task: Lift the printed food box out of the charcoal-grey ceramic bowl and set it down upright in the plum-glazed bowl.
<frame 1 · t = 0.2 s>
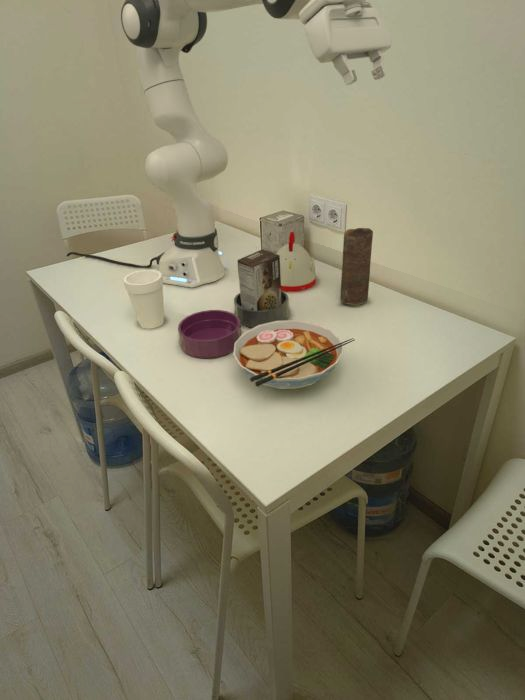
hand: (366, 80, 89), 54 cm above the table, tool tilted 30°, fingers open, 8 cm apart
foam cup: (152, 323, 126), on the table
candle: (353, 302, 130), on the table
grey bowl: (262, 315, 126), on the table
white chicken egg cooker: (292, 282, 143), on the table
printed food box: (262, 315, 126), resting on grey bowl
plum bowl: (211, 342, 116), on the table
ramen bowl: (288, 376, 103), on the table
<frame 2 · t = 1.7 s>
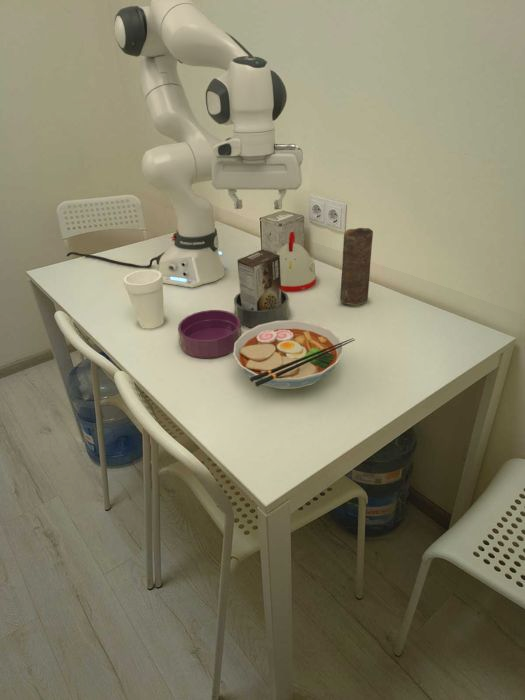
hand: (258, 208, 111), 28 cm above the table, tool pointing down, fingers open, 8 cm apart
nothing on the table moved.
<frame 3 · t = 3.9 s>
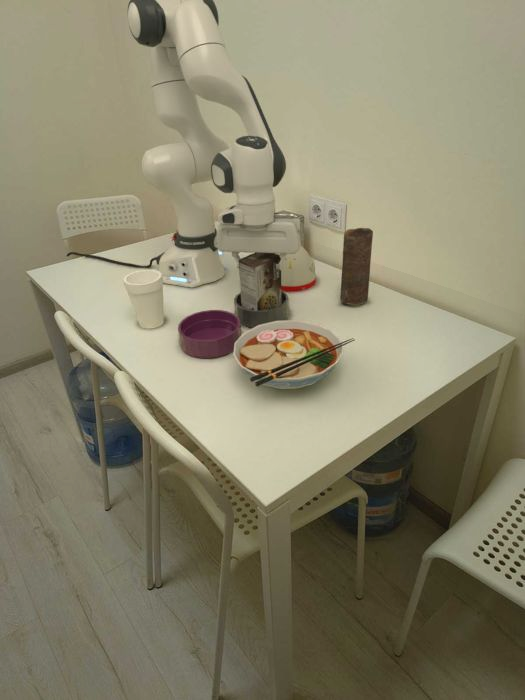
hand: (260, 268, 119), 13 cm above the table, tool pointing down, fingers closed on printed food box, 8 cm apart
printed food box: (262, 315, 126), resting on grey bowl, touching gripper
everything else where it was.
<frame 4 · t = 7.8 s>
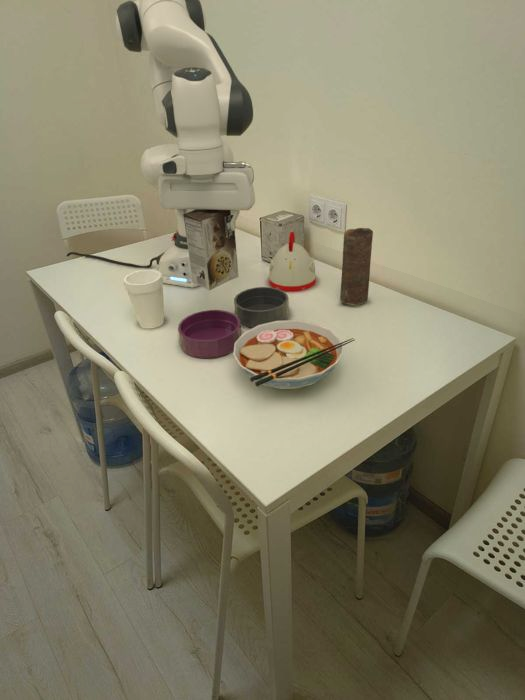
hand: (210, 229, 103), 27 cm above the table, tool pointing down, fingers closed on printed food box, 8 cm apart
printed food box: (215, 280, 110), point 15 cm above the table, touching gripper
everything else where it was.
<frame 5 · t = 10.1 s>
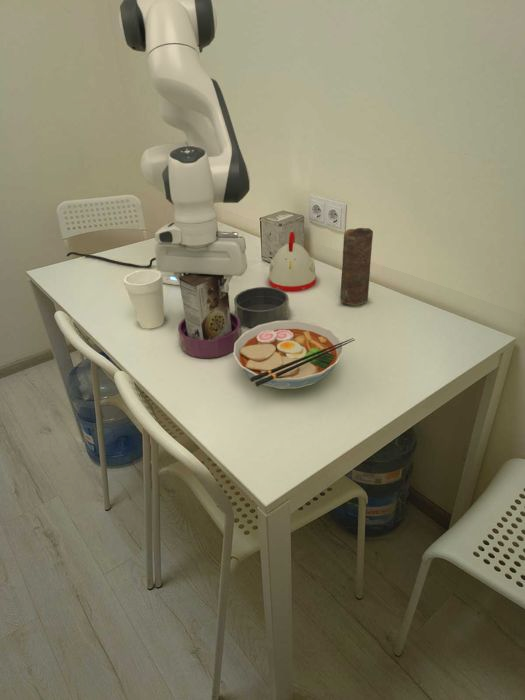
hand: (204, 290, 109), 14 cm above the table, tool pointing down, fingers closed on printed food box, 8 cm apart
printed food box: (209, 335, 115), point 2 cm above the table, touching gripper
everything else where it was.
when the fingers open (13 cm above the table, at t = 11.9 s): printed food box stays where it is, resting on plum bowl.
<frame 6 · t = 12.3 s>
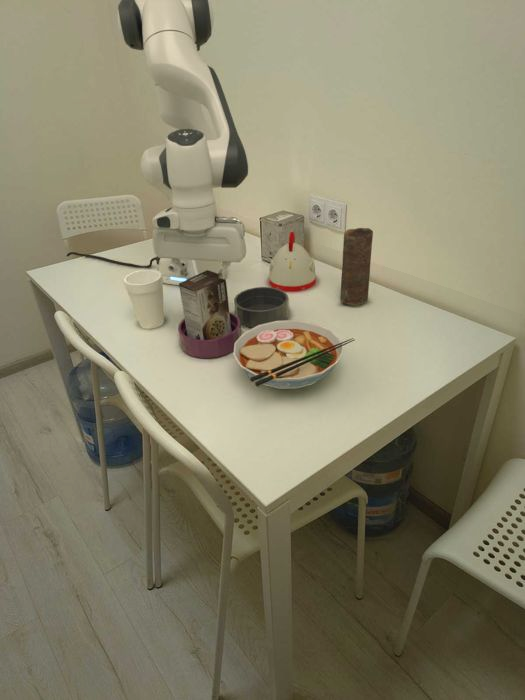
hand: (203, 277, 107), 17 cm above the table, tool pointing down, fingers open, 8 cm apart
printed food box: (210, 341, 116), resting on plum bowl
everything else where it was.
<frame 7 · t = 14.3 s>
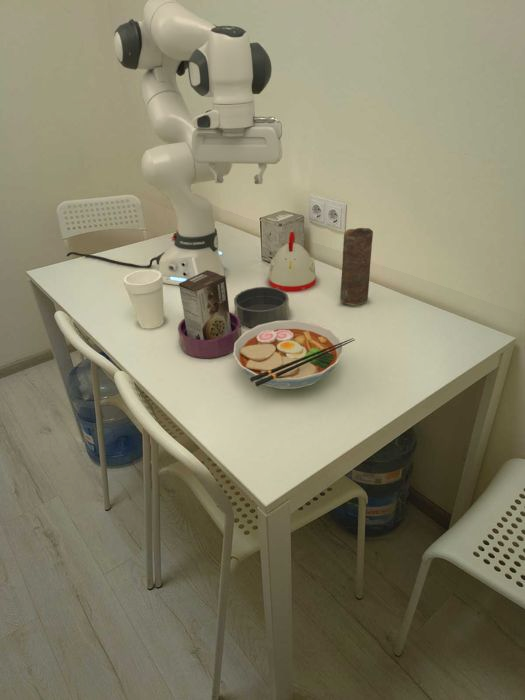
hand: (238, 183, 110), 34 cm above the table, tool pointing down, fingers open, 8 cm apart
nothing on the table moved.
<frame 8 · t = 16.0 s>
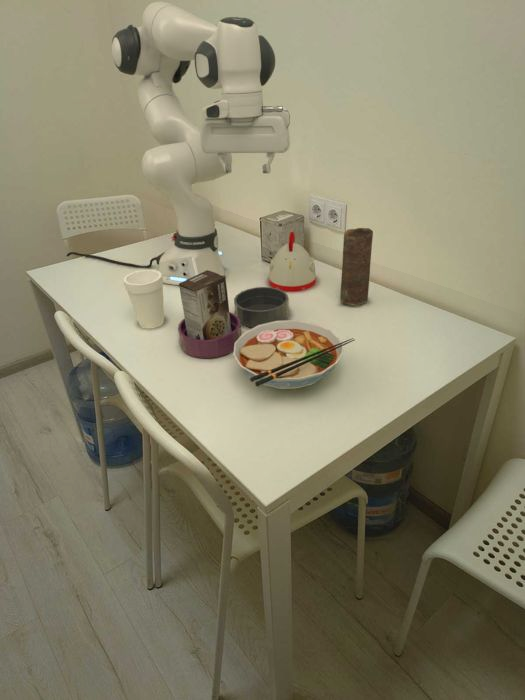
hand: (247, 172, 112), 35 cm above the table, tool pointing down, fingers open, 8 cm apart
nothing on the table moved.
at the end: printed food box 0.3 cm from the plum bowl (horizontally); printed food box tilted 0°; the gripper is holding nothing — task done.
